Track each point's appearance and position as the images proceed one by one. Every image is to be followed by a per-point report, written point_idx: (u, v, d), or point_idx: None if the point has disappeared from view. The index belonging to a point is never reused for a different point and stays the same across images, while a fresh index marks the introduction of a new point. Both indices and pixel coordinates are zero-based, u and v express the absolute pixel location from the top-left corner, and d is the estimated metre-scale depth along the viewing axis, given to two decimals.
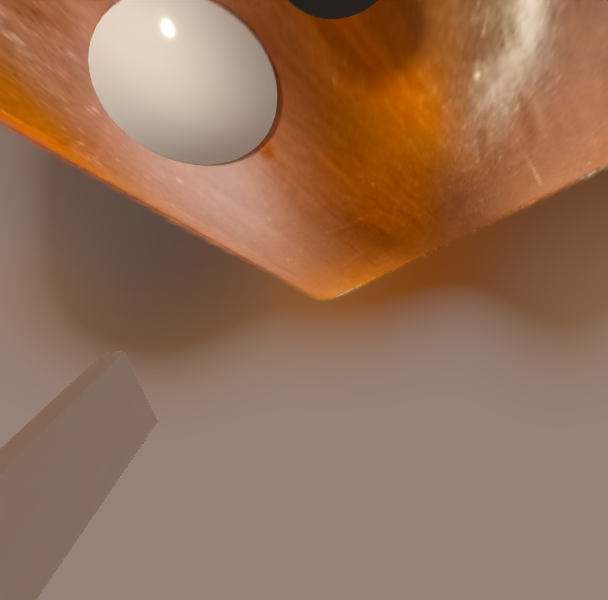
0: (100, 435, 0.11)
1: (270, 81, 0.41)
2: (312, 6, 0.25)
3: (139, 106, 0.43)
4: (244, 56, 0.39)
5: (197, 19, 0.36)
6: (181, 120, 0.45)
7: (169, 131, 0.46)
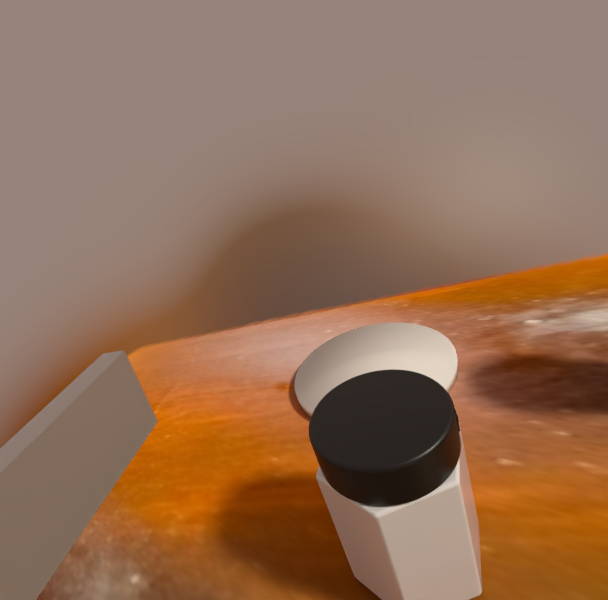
0: (100, 435, 0.11)
1: None
2: (352, 381, 0.27)
3: (392, 338, 0.50)
4: None
5: None
6: (361, 351, 0.50)
7: (362, 342, 0.52)
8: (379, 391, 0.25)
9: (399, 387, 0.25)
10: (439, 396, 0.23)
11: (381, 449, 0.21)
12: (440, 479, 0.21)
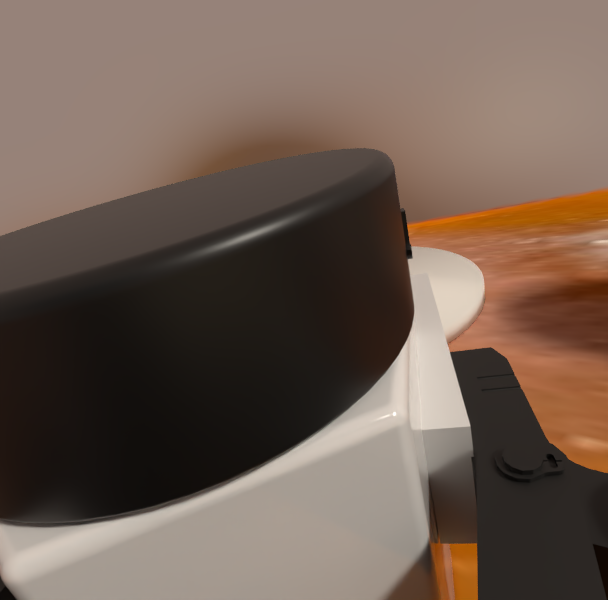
0: None
1: None
2: (141, 194, 0.10)
3: None
4: None
5: None
6: None
7: None
8: (189, 187, 0.09)
9: (244, 173, 0.09)
10: (348, 154, 0.07)
11: (57, 256, 0.04)
12: (325, 396, 0.05)
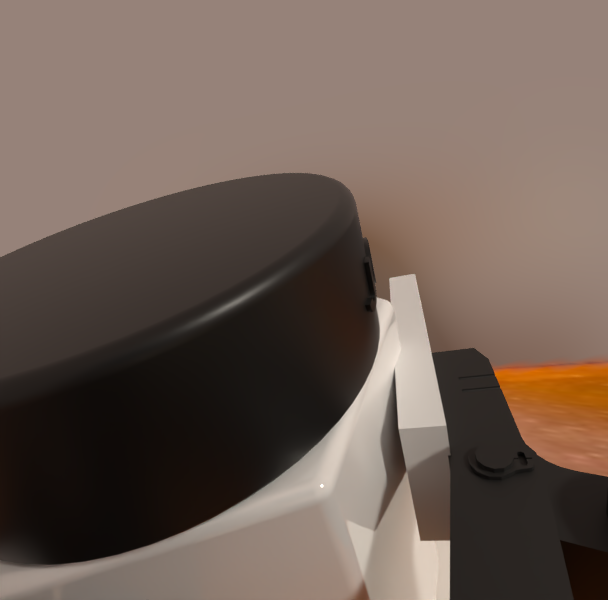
0: None
1: None
2: (141, 206, 0.10)
3: None
4: None
5: None
6: None
7: None
8: (176, 210, 0.09)
9: (227, 198, 0.09)
10: (317, 196, 0.07)
11: (1, 334, 0.05)
12: (244, 474, 0.05)
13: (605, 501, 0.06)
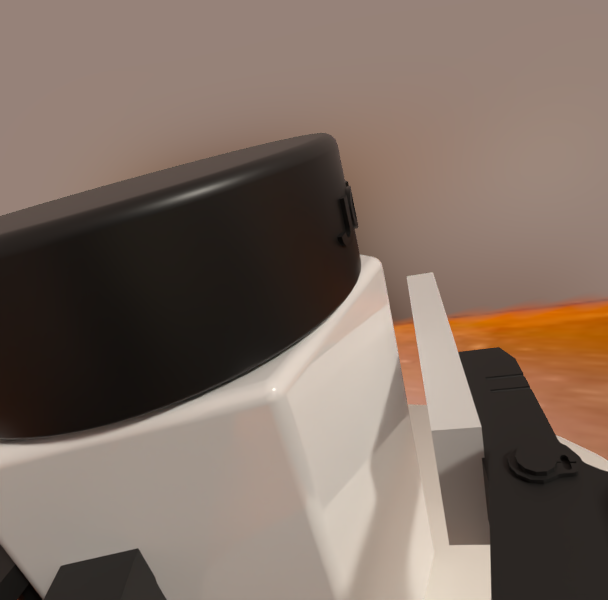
0: None
1: None
2: (156, 172, 0.11)
3: None
4: None
5: None
6: None
7: None
8: (181, 167, 0.09)
9: (228, 155, 0.09)
10: (300, 140, 0.07)
11: None
12: (198, 366, 0.05)
13: None
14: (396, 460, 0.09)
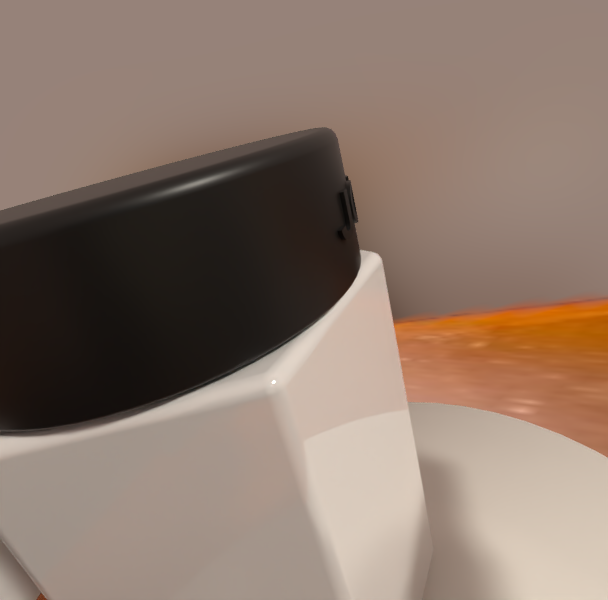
0: None
1: None
2: (156, 168, 0.11)
3: (462, 480, 0.14)
4: None
5: None
6: None
7: None
8: (181, 162, 0.09)
9: (228, 150, 0.09)
10: (301, 133, 0.07)
11: None
12: (198, 358, 0.05)
13: None
14: (396, 456, 0.09)
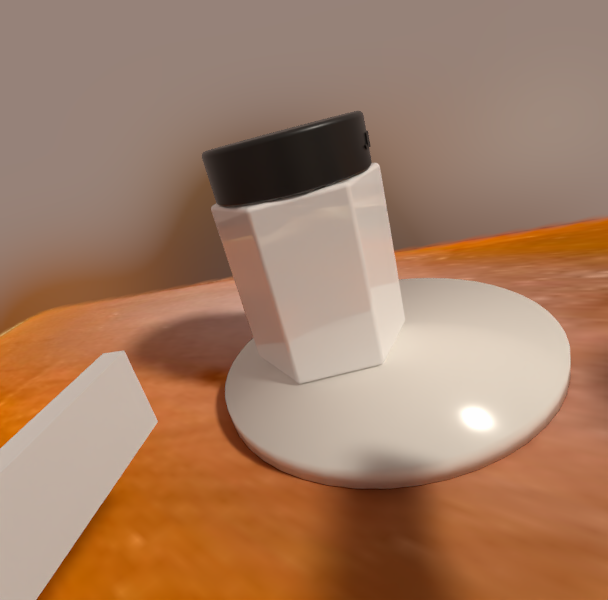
0: (100, 435, 0.11)
1: (267, 438, 0.19)
2: (274, 132, 0.24)
3: (422, 302, 0.27)
4: (341, 435, 0.18)
5: (459, 421, 0.17)
6: None
7: None
8: (294, 127, 0.22)
9: (315, 121, 0.22)
10: None
11: (262, 136, 0.18)
12: (325, 175, 0.18)
13: None
14: (385, 250, 0.22)
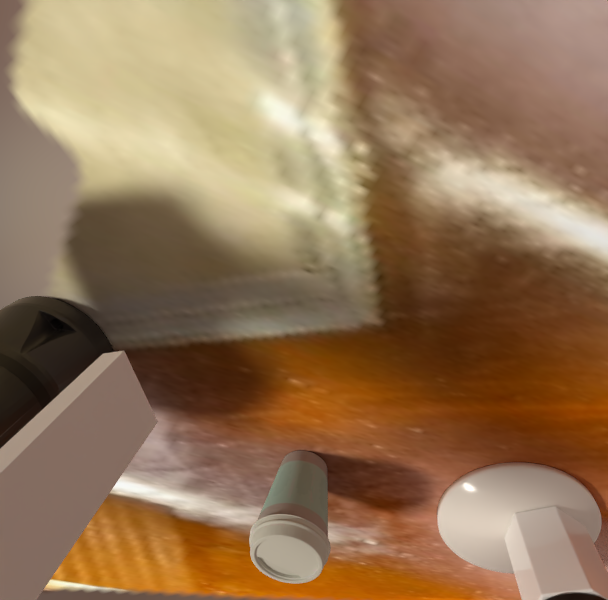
0: (100, 435, 0.11)
1: (562, 480, 0.46)
2: None
3: (494, 550, 0.53)
4: (529, 481, 0.47)
5: (484, 485, 0.48)
6: None
7: None
8: None
9: None
10: None
11: None
12: None
13: None
14: (519, 571, 0.46)
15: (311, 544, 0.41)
